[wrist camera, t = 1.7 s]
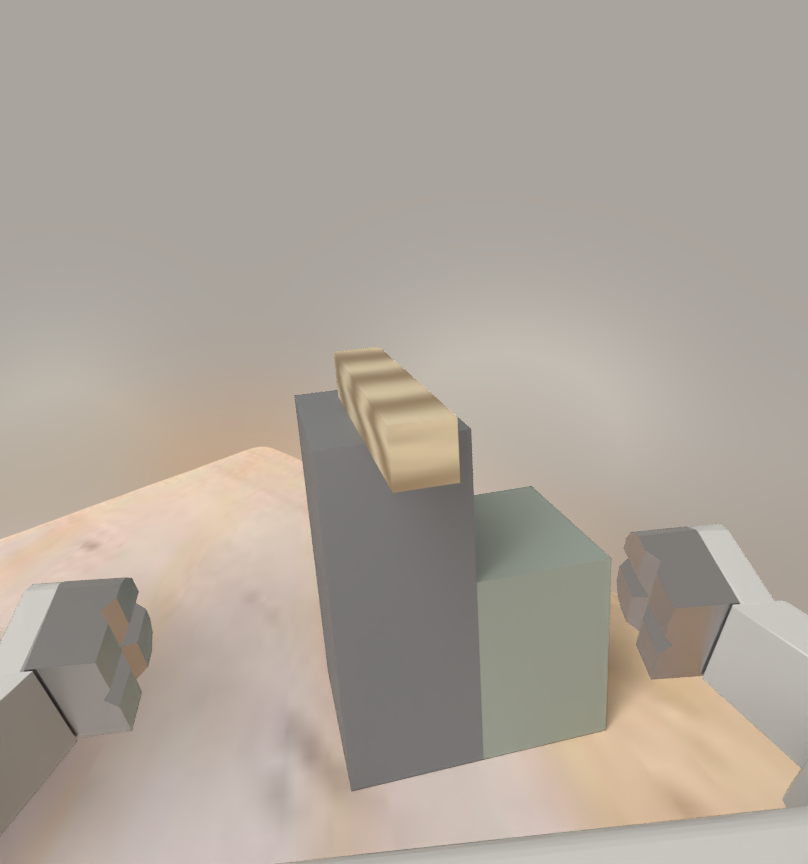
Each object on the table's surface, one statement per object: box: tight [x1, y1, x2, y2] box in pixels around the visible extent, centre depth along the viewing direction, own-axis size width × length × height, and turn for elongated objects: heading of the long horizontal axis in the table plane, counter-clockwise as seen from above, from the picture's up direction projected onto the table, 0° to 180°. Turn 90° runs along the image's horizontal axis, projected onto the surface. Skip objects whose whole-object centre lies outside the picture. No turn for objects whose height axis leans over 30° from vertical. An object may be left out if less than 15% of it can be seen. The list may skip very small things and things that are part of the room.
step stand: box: [295, 390, 611, 791], centre depth 53 cm, size 14×20×26 cm
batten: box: [334, 347, 460, 493], centre depth 42 cm, size 20×4×4 cm, turn 13°
